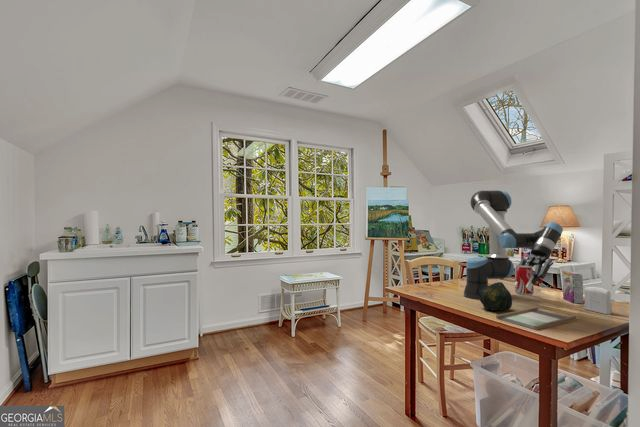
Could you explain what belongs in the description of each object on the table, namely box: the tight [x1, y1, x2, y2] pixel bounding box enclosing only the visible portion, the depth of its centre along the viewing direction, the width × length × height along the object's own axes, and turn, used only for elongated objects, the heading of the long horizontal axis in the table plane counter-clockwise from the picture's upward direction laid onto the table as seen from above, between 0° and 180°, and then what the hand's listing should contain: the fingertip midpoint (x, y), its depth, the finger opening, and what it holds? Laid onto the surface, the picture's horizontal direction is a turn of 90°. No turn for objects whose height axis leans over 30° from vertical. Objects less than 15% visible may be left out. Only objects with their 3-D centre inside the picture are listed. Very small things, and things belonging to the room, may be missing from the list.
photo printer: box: [584, 286, 612, 316], centre depth 158 cm, size 10×4×12 cm, turn 25°
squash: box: [479, 281, 513, 312], centre depth 164 cm, size 14×15×15 cm
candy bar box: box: [561, 270, 584, 305], centre depth 179 cm, size 11×5×16 cm, turn 168°
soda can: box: [514, 264, 535, 297], centre depth 146 cm, size 7×7×13 cm
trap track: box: [495, 306, 577, 331], centre depth 147 cm, size 18×31×2 cm, turn 116°
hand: (522, 287), depth 143 cm, fingers closed on soda can, 4 cm apart
